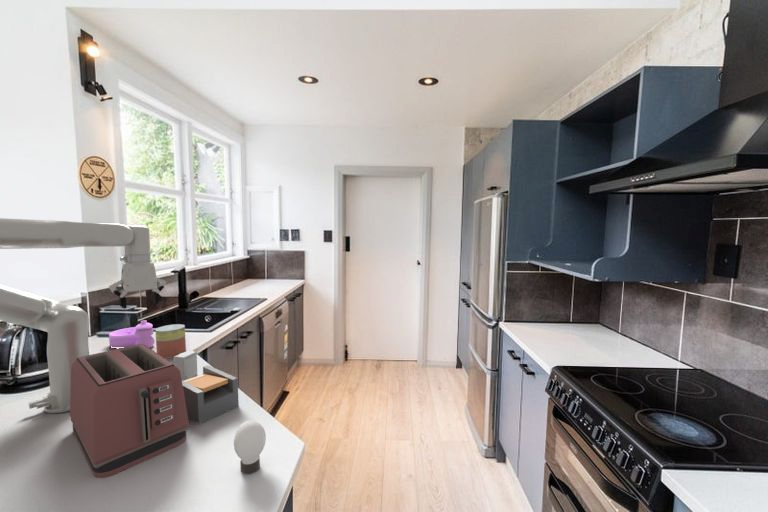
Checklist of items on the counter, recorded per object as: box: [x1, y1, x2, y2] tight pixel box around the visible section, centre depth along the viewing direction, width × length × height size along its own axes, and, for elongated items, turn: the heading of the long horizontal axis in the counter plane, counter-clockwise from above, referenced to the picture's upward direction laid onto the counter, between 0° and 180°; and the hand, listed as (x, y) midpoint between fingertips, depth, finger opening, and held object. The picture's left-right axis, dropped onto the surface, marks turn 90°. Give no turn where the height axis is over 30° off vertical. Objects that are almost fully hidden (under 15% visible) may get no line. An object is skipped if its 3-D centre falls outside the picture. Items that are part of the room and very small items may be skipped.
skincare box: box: [173, 350, 199, 381], centre depth 116 cm, size 6×4×12 cm
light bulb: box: [233, 419, 267, 474], centre depth 76 cm, size 7×7×11 cm
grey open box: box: [182, 364, 239, 425], centre depth 103 cm, size 12×18×9 cm, turn 55°
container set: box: [108, 319, 156, 349], centre depth 162 cm, size 25×15×13 cm, turn 63°
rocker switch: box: [184, 373, 228, 393], centre depth 103 cm, size 8×15×3 cm, turn 55°
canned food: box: [154, 323, 187, 359], centre depth 149 cm, size 11×11×12 cm
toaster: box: [69, 344, 190, 479], centre depth 88 cm, size 19×34×20 cm, turn 51°
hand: (140, 305), depth 122 cm, fingers open, 9 cm apart
